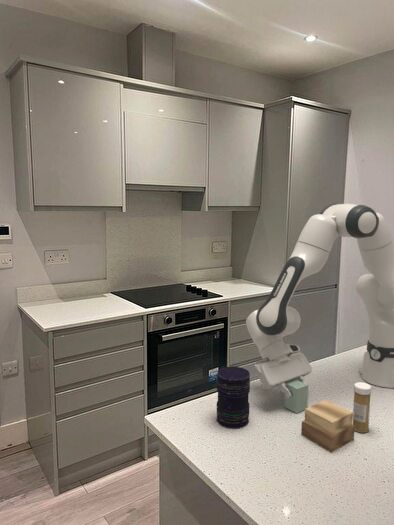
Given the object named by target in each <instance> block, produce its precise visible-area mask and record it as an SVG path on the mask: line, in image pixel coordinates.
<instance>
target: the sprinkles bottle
mask: <svg viewBox="0 0 394 525" xmlns="http://www.w3.org/2000/svg"><path fill="white" fill-rule="evenodd" d="M353 391H354V396H353V406H352V408H353V409H352V412H353V421H352V425H353V426H355V429H354V432H357V433H363V434H366V433H368V432H369V429H370V428H369V423H370V412H371V411H370V408H371V395H372V386H371V385H370V383H366V382H359V381H358V382H356V383H354V386H353Z"/></svg>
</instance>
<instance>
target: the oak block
mask: <svg viewBox="0 0 394 525" xmlns="http://www.w3.org/2000/svg"><path fill="white" fill-rule="evenodd" d="M304 420H305V423H307V424H309V425H311V426H313V427H315V428H316V429H318V430H320V431H322V432H324V433H326V434H327V435H329V436H331V437H333V436H335V435H336V434H338V433H340V432H342V431H344V430H346V429H348V428H350V427H351V426H352V425H353V411H351V410H348V409H346V408H344V407H343V406H340V405H338V404H335V403H333V402H331V401H329V400H327V399H324V400H321V401H319V402H317V403H315V404H312V405H311V406H307V408H306V409H305V410H304Z"/></svg>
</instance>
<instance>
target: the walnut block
mask: <svg viewBox="0 0 394 525" xmlns="http://www.w3.org/2000/svg"><path fill="white" fill-rule="evenodd" d="M300 429H301V430H300V432H301V433H300V434H301V435H300V436H303V437H304V438H306V439H307V440H309V441H310V442H312V443H314V444H315V445H317V446H320V448H322V449H324V450H326V451H328V452H329V453H333V452H335V451H337V450H338V449H339V448H342V447H344V446H346V445H347V444H349V443H351V442H352V441H355V430H354V429H355V426H353V424H352V426H351V427H350V428H348V429H346V430H344V431H342V432H340V433H338V434H336V435H335V436H333V437H331V436H329V435H327V434H326V433H324V432H322V431H320V430H318V429H316V428H315V427H313V426H311V425H309V424H307V423H305V419H303V420H302V421H301V428H300Z"/></svg>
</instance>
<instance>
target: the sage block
mask: <svg viewBox="0 0 394 525" xmlns="http://www.w3.org/2000/svg"><path fill="white" fill-rule="evenodd" d="M285 385H286V386H285V387H286V388H287V389H288V390H291V391H292V393H293V396H292V397H290V398H287V396H286V395H285V394H284V404H283V405H284V408H286V410H289V411H291V412H293V413H295V414H298V413H301V412H303V411H305V409H306V408H308V400H309V399H308V397H309V396H308V395H309V385H308V384H307V383H306V382H305V383H303V382H301V381H298V380H296V379H295V380H293V381H290V382H287V383H285Z"/></svg>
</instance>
